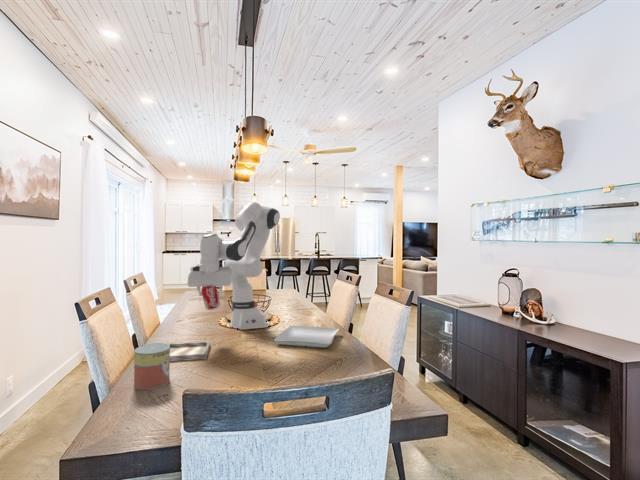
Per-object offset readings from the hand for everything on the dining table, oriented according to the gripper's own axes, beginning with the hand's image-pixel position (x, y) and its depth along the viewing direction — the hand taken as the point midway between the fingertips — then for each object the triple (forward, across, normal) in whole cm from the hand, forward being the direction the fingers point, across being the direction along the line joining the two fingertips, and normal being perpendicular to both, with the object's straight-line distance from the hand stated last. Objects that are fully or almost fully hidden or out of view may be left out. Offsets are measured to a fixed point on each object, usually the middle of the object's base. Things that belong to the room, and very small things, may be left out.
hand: (209, 295), depth 172 cm
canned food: (+22, +15, +47) cm, 54 cm away
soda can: (+7, -2, 0) cm, 7 cm away
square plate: (+23, -48, +7) cm, 54 cm away
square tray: (+22, +8, +17) cm, 29 cm away
